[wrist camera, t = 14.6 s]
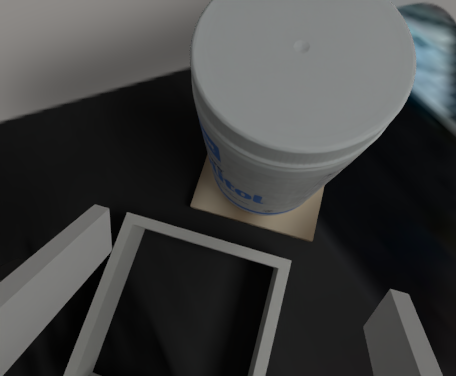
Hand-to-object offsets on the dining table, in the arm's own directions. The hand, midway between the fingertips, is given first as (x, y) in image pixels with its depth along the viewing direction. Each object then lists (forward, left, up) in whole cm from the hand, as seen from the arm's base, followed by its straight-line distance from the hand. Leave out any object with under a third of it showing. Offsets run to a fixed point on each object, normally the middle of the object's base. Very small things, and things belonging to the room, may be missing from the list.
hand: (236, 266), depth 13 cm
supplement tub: (0, +9, -11) cm, 14 cm away
